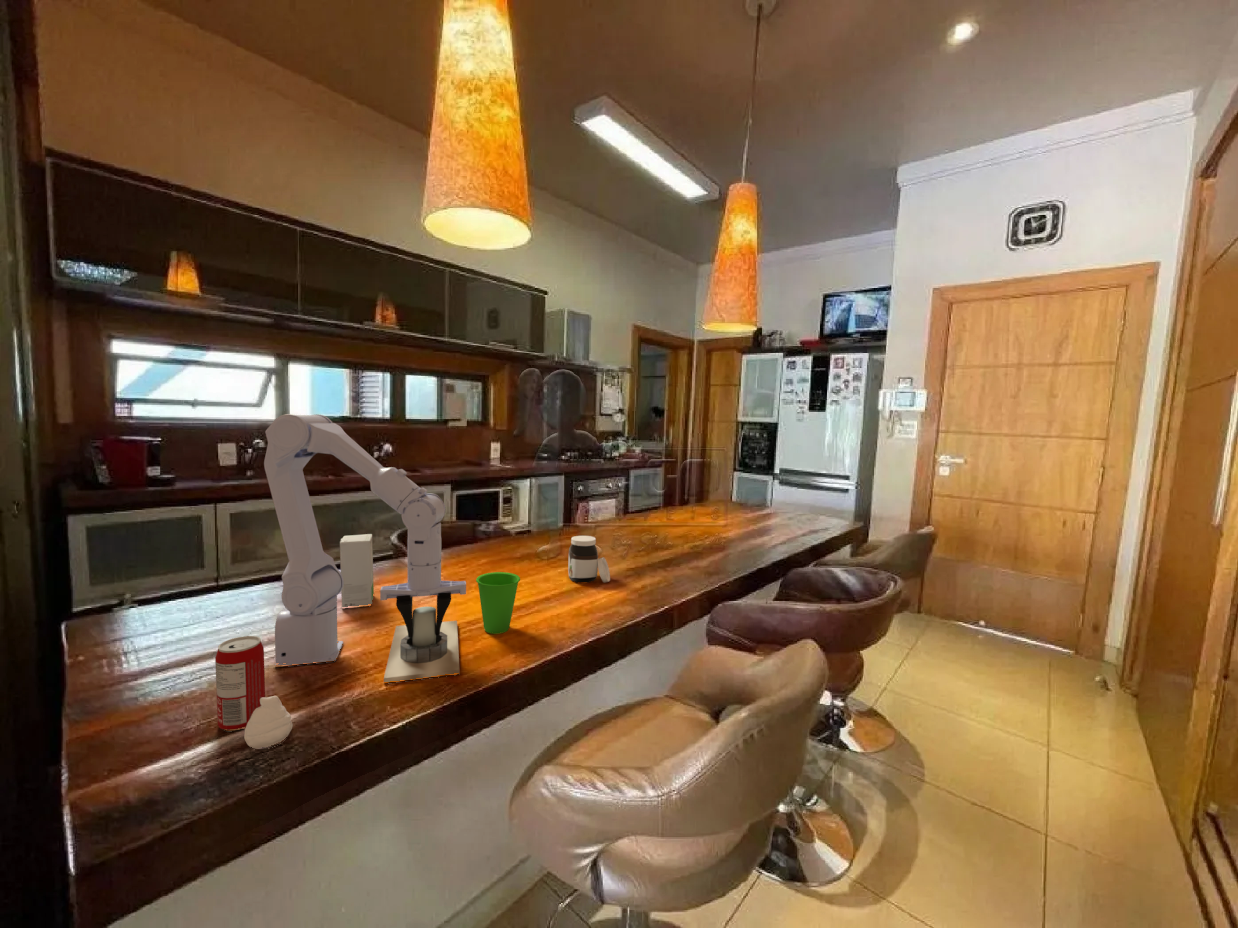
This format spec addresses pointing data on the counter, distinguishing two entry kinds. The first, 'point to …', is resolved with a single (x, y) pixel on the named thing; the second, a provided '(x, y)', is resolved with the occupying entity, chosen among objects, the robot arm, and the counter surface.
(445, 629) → the peg holder
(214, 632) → the counter surface
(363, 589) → the skincare box
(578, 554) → the spread jar
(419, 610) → the gray peg
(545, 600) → the counter surface
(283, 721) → the garlic bulb
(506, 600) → the cup
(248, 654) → the soda can
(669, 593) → the counter surface
